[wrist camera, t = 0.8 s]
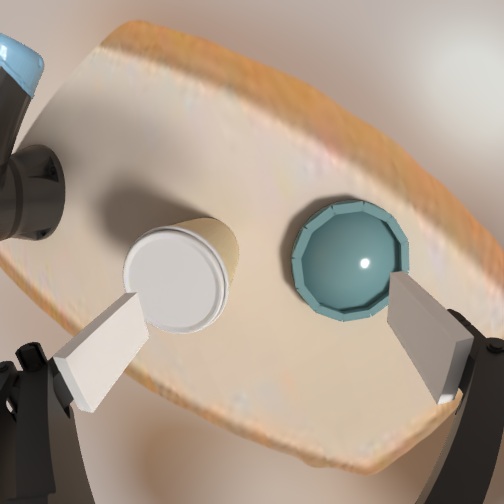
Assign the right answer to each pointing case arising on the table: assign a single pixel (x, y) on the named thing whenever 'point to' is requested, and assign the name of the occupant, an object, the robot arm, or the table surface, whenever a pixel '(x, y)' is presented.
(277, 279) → the table surface
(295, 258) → the saucer
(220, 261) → the coffee cup
